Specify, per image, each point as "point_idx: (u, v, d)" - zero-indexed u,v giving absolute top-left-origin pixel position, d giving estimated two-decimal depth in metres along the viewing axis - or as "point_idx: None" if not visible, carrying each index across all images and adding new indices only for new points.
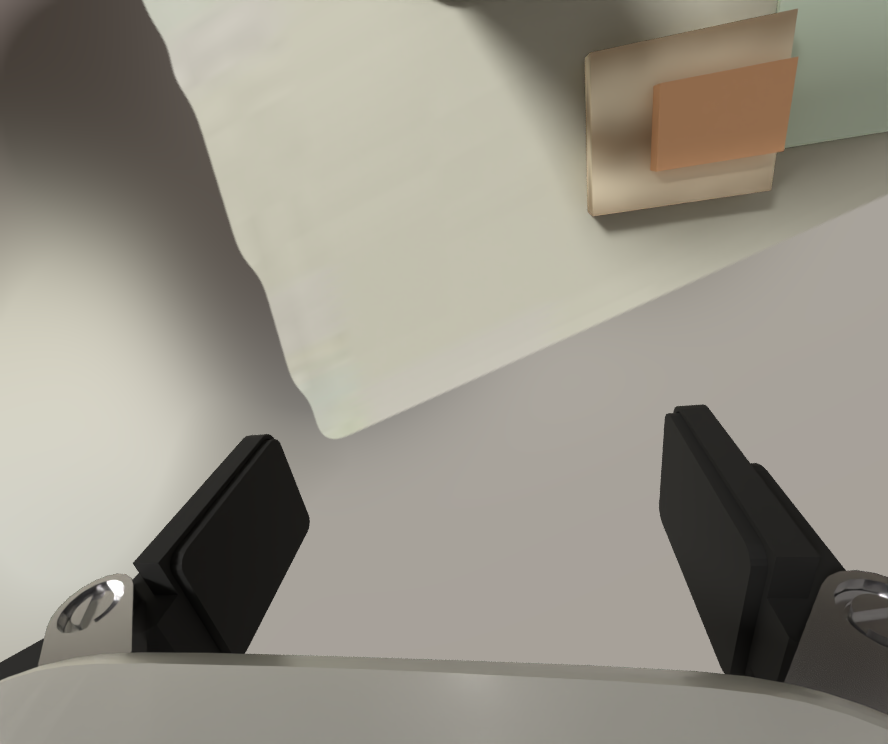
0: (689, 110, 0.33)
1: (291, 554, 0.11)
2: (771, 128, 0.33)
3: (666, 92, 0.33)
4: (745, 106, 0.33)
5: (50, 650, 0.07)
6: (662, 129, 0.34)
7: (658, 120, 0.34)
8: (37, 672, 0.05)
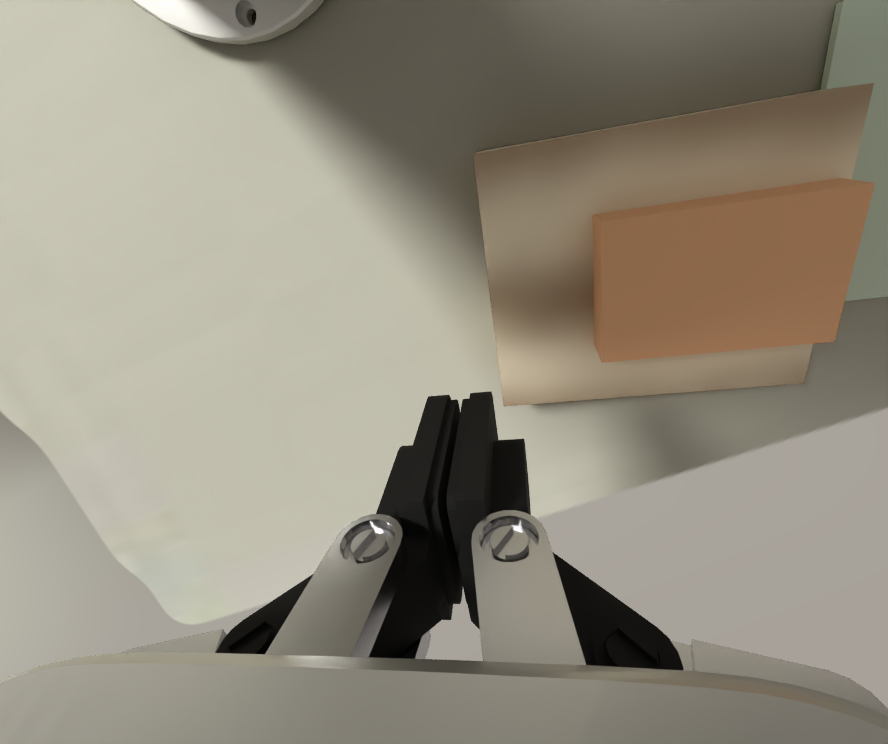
0: (657, 269, 0.17)
1: None
2: (812, 304, 0.17)
3: (613, 238, 0.17)
4: (764, 266, 0.17)
5: (327, 563, 0.07)
6: (608, 298, 0.18)
7: (601, 283, 0.18)
8: (37, 672, 0.05)
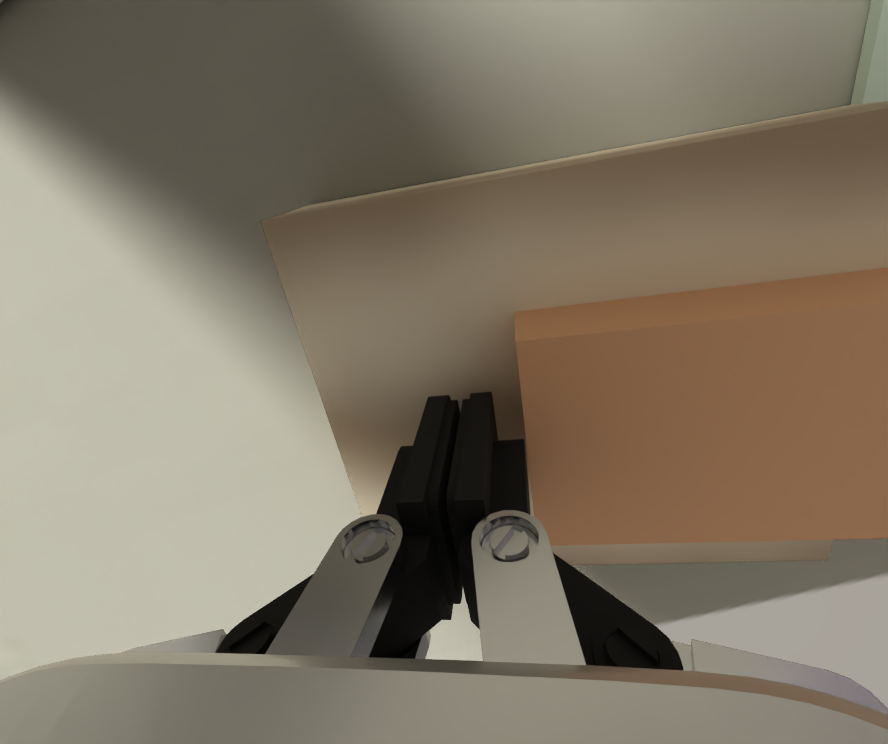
0: (621, 419, 0.10)
1: None
2: None
3: (539, 368, 0.09)
4: (815, 421, 0.09)
5: (327, 563, 0.07)
6: (540, 458, 0.11)
7: None
8: (37, 672, 0.05)
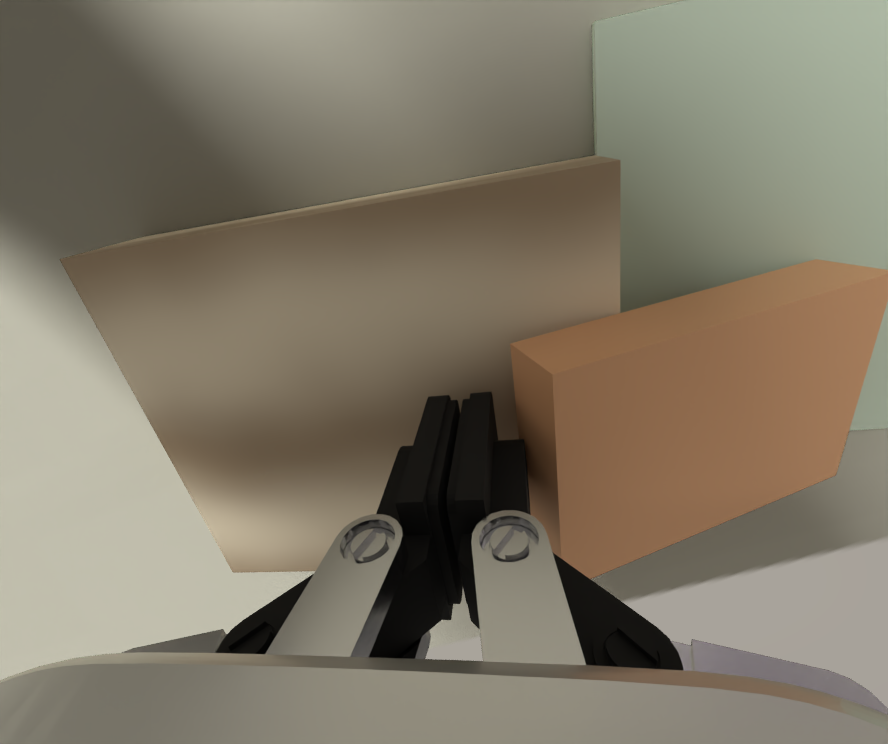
0: (642, 434, 0.10)
1: None
2: (820, 438, 0.12)
3: (573, 398, 0.09)
4: (775, 401, 0.11)
5: (327, 563, 0.07)
6: (569, 495, 0.10)
7: (556, 474, 0.09)
8: (37, 672, 0.05)
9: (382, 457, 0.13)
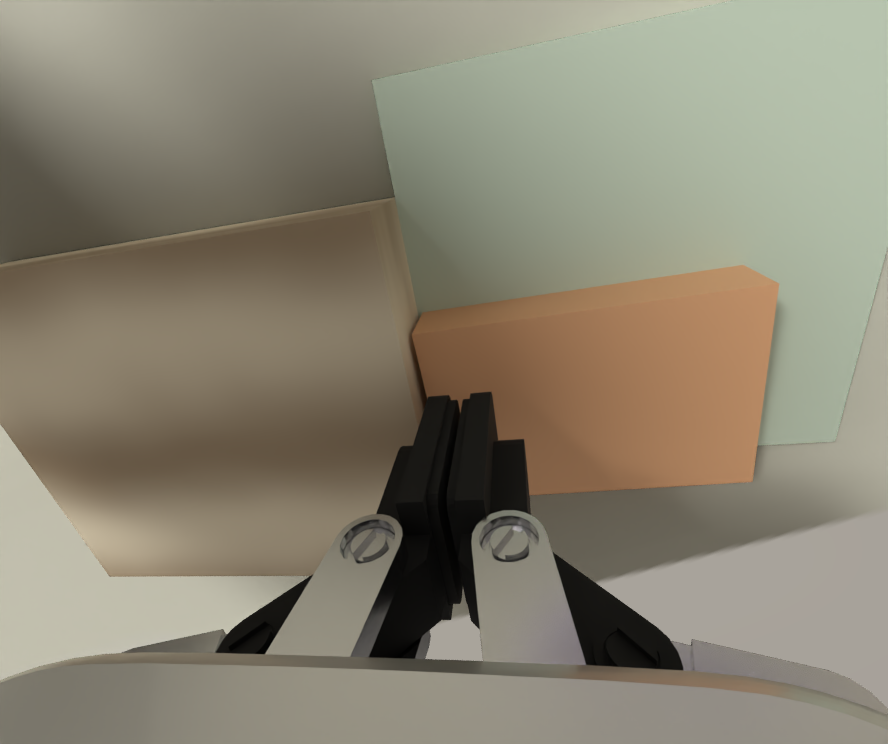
0: (499, 392, 0.13)
1: None
2: (714, 437, 0.13)
3: (432, 354, 0.12)
4: (641, 390, 0.12)
5: (327, 563, 0.07)
6: None
7: None
8: (37, 672, 0.05)
9: (220, 471, 0.14)
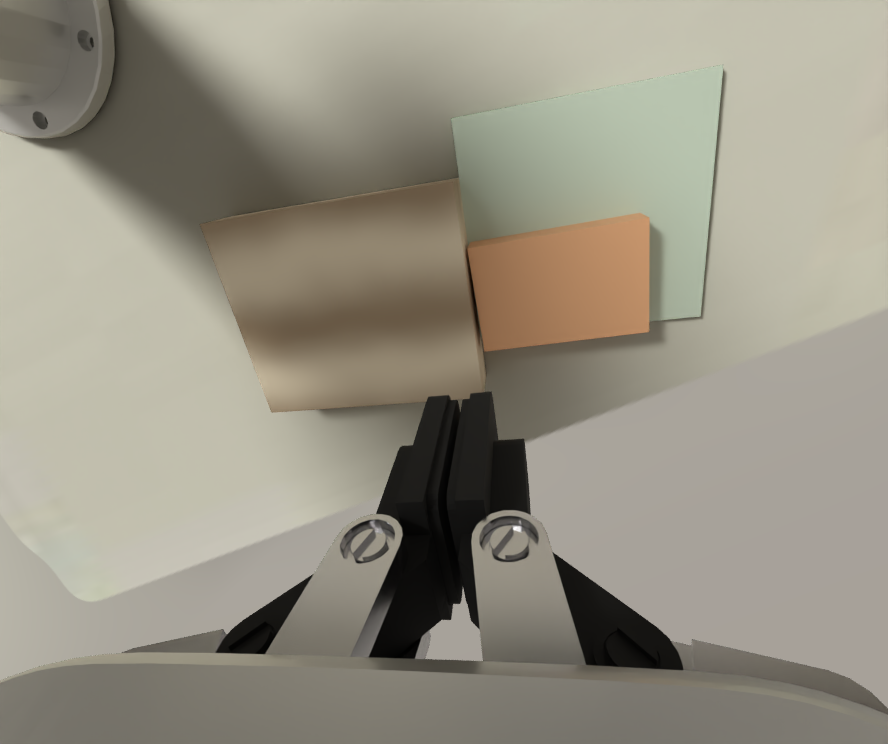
0: (512, 281, 0.24)
1: None
2: (626, 304, 0.24)
3: (477, 259, 0.24)
4: (587, 277, 0.23)
5: (327, 563, 0.07)
6: (481, 303, 0.25)
7: None
8: (37, 672, 0.05)
9: (355, 332, 0.26)
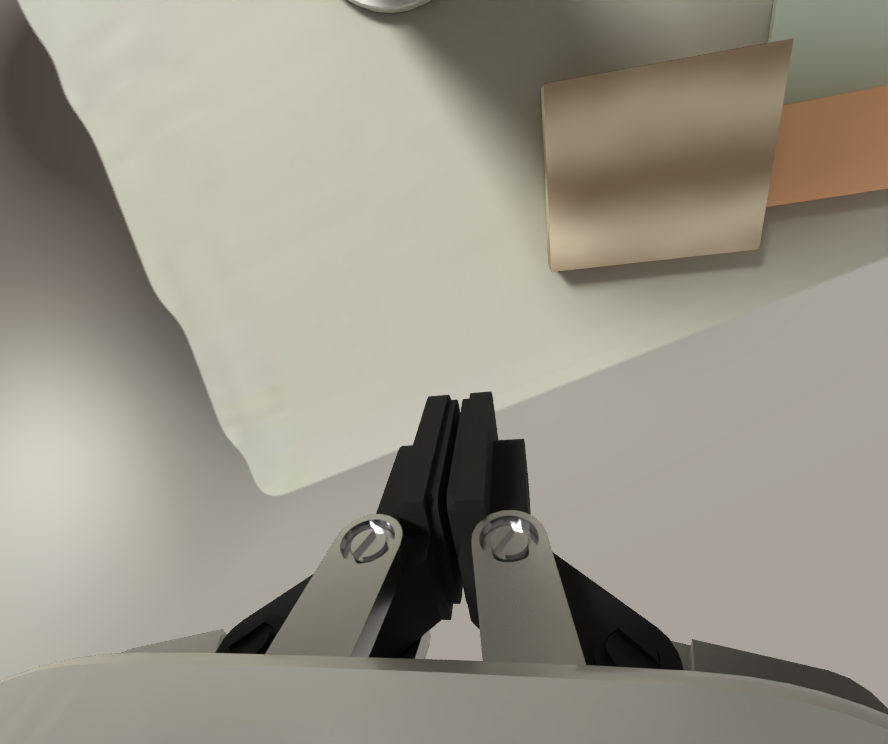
0: (810, 137, 0.28)
1: None
2: None
3: (784, 117, 0.28)
4: (879, 132, 0.28)
5: (327, 563, 0.07)
6: (776, 159, 0.29)
7: None
8: (37, 672, 0.05)
9: (658, 187, 0.30)
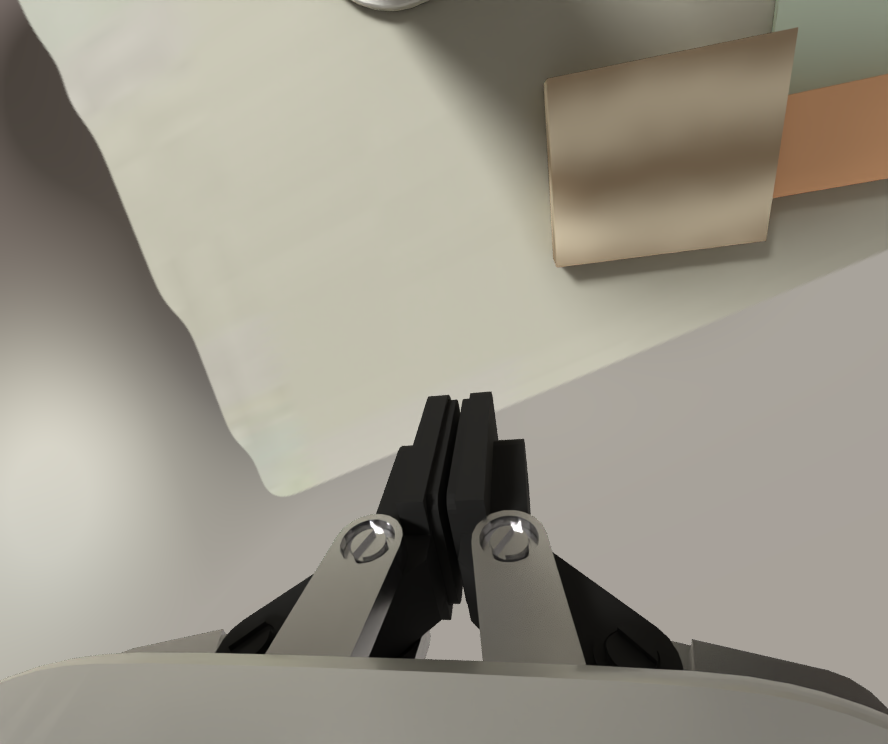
0: (816, 127, 0.28)
1: None
2: None
3: (790, 107, 0.28)
4: (886, 120, 0.27)
5: (327, 563, 0.07)
6: (781, 150, 0.29)
7: None
8: (37, 672, 0.05)
9: (663, 180, 0.30)
